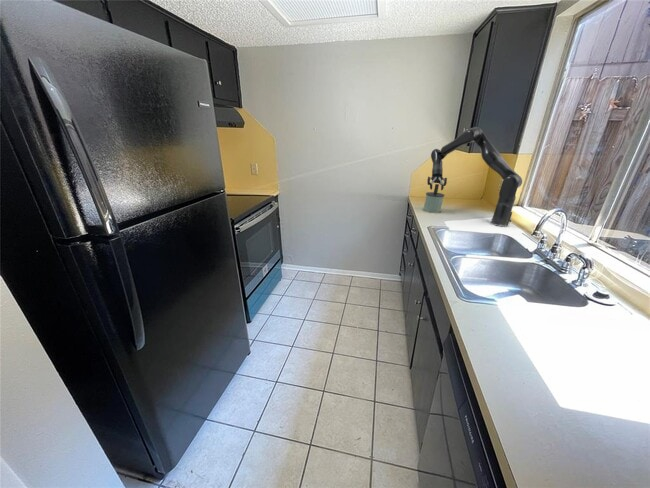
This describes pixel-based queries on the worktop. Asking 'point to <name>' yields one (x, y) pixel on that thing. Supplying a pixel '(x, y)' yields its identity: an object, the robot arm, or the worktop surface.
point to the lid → (435, 192)
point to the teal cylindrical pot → (433, 204)
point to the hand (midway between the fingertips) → (436, 189)
